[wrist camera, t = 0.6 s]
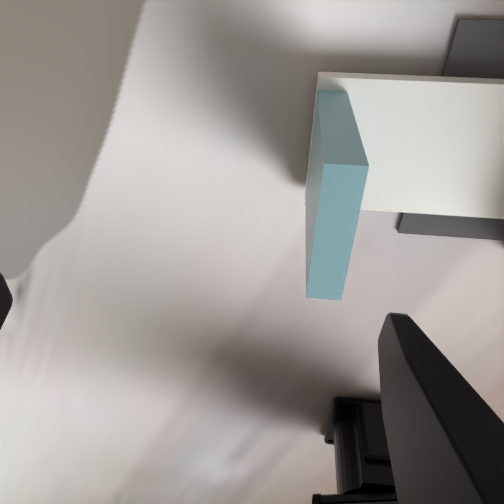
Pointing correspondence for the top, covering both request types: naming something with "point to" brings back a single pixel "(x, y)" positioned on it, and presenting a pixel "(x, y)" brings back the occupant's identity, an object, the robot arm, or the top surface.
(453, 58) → the pad
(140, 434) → the top surface
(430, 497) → the robot arm
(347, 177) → the sled
